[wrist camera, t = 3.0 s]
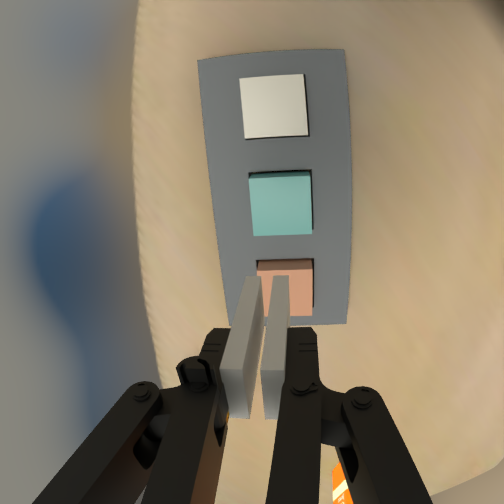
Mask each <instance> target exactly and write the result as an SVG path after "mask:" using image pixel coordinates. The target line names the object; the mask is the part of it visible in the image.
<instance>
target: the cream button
mask: <svg viewBox="0 0 504 504" xmlns="http://www.w3.org/2000/svg"><path fill="white" fill-rule="evenodd" d="M239 80H240V91H241V102H242V113H243V124H244V135H245V139H246V138H260V137H275V136H295V135H308V128H307V114H306V101H305V88H304V77H303V74H293V75H275V76H262V77H250V78H241V79H239Z"/></svg>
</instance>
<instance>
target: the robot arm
mask: <svg viewBox="0 0 504 504" xmlns="http://www.w3.org/2000/svg"><path fill="white" fill-rule="evenodd" d="M264 324H265V316H264V304H263V291H262V279H261V276H246V278H245V281H244V285H243V288H242V292H241V295H240V299H239V302H238V306H237V309H236V313H235V316H234V320H233V323H232V326H231V328H214V329H213V330H212V331H211V332H210V333H209V334H207V336H206V339H205V341H204V345H203V346H202V349H201V352H200V354H199V356H193V357H189V358H186V359H184V360H182V361H181V362H180V363H179V364H178V365H177V367H176V370H177V373H178V376H179V379H180V382H181V385H180V386H177V387H173V388H167V389H160V390H159V388H158V387H157V386H156V385H155V384H154V383H152V382H146V381H143V382H138V383H135V384H133V385H132V386H130V387H129V388H128V389H127V390H126V392H125V393H124V394H123V395H122V396H121V397H120V399H119V400H118V401H117V402H116V403H115V405H114V406H113V407H112V408H111V409H110V411H109V412H108V413H107V414H106V415H105V417H104V418H103V419H102V420H101V421H100V423H99V424H98V425H97V426H96V427H95V428H94V430H93V431H92V432H91V433H90V434H89V436H88V437H87V438H86V439H85V440H84V442H83V443H82V444H81V445H80V446H79V448H78V449H77V450H76V451H75V452H74V454H73V455H72V456H71V457H70V458H69V460H68V461H67V462H66V463H65V465H64V466H63V467H62V468H61V469H60V470H59V472H58V473H57V474H56V475H55V476H54V478H53V479H52V480H51V481H50V483H49V484H48V485H47V486H46V487H45V489H44V490H43V491H42V492H41V493H40V495H39V496H38V497H37V498H36V499H35V501H34V502H33V503H32V504H134V503H135V502H136V500H137V499H138V497H139V496H140V494H141V493H142V491H143V490H144V488H145V487H146V489H145V492H144V496H143V499H142V502H141V504H214V502H215V496H216V491H217V485H218V480H219V474H220V469H221V463H222V458H223V452H224V447H225V441H226V435H227V430H228V426H227V421H226V418H227V414H228V411H229V415H230V418H246V419H250V414H251V407H252V401H253V395H254V389H255V382H256V376H257V370H258V363H259V357H260V350H261V344H262V337H263V330H264ZM260 372H261V382H262V392H263V402H264V412H265V419H278V421H277V429H276V436H275V444H274V451H273V458H272V465H271V471H270V478H269V484H268V491H267V497H266V503H265V504H318V503H319V484H320V458H321V443H322V444H326V445H331V446H335V449H336V452H337V455H338V458H339V461H340V464H341V467H342V470H343V473H344V477H345V480H346V483H347V486H348V489H349V492H350V496H351V499H352V502H353V504H433V503H432V500H431V498H430V496H429V494H428V492H427V489H426V487H425V485H424V483H423V481H422V479H421V476H420V474H419V472H418V470H417V468H416V466H415V464H414V462H413V460H412V457H411V455H410V453H409V451H408V449H407V447H406V445H405V443H404V441H403V439H402V437H401V435H400V433H399V431H398V429H397V427H396V425H395V423H394V421H393V419H392V417H391V415H390V413H389V411H388V409H387V407H386V405H385V403H384V401H383V399H382V397H381V396H380V394H379V393H378V392H377V391H376V390H374V389H372V388H369V387H364V386H361V387H355V388H352V389H350V390H348V391H347V392H346V393H340V392H336V391H333V390H330V389H328V388H326V387H325V386H324V385H323V384H322V382H321V381H320V377H319V362H318V347H317V334H316V333H315V332H314V330H313V329H312V328H311V327H292V328H290V297H289V275H275V276H273V281H272V289H271V297H270V304H269V311H268V319H267V326H266V333H265V340H264V348H263V355H262V361H261V368H260ZM146 485H147V486H146Z"/></svg>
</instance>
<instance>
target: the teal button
mask: <svg viewBox="0 0 504 504" xmlns="http://www.w3.org/2000/svg"><path fill="white" fill-rule="evenodd" d="M249 190H250V201H251V212H252V224H253V235H254V236H270V235H299V234H312V212H311V184H310V174H309V171H294V172H272V173H255V174H252V175H251V176H250V177H249Z"/></svg>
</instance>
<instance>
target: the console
mask: <svg viewBox="0 0 504 504" xmlns="http://www.w3.org/2000/svg"><path fill="white" fill-rule="evenodd" d="M197 62H198V73H199V84H200V95H201V105H202V115H203V125H204V134H205V143H206V153H207V161H208V170H209V179H210V187H211V195H212V204H213V212H214V220H215V227H216V235H217V243H218V250H219V257H220V265H221V272H222V279H223V286H224V293H225V300H226V307H227V313H228V320H229V326H232V323H233V320H234V316H235V313H236V309H237V306H238V302H239V299H240V295H241V292H242V288H243V285H244V281H245V278H246V276H257V267H258V263H259V260H267V259H300V258H313V295H312V316H290V326H296V325H330V324H346V321H347V309H348V296H349V280H350V260H351V232H352V160H351V132H350V113H349V98H348V85H347V74H346V63H345V54H344V50H343V49H309V50H284V51H269V52H257V53H247V54H238V55H230V56H222V57H215V58H209V59H202V60H197ZM293 74H303V77H304V83H305V94H306V107H307V121H308V135H302V136H280V137H263V138H250V139H249V138H246V139H245V135H244V124H243V113H242V102H241V91H240V80H239V79H241V78H250V77H262V76H275V75H293ZM304 169H310V173H311V197H312V234H299V235H270V236H254V235H253V224H252V212H251V201H250V190H249V177H250V176H251V175H252V172H262V171H280V170H304ZM267 319H268V316H267V317H265V324H264V326H267Z"/></svg>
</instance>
